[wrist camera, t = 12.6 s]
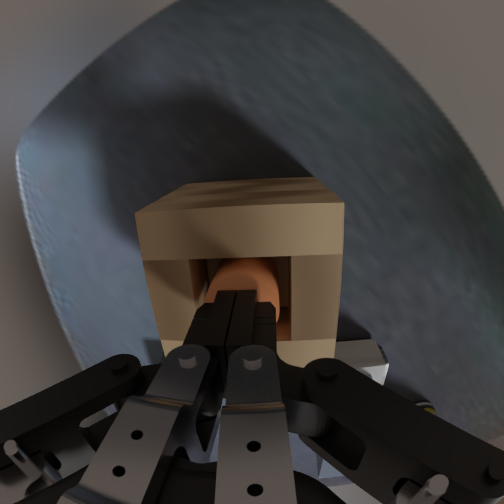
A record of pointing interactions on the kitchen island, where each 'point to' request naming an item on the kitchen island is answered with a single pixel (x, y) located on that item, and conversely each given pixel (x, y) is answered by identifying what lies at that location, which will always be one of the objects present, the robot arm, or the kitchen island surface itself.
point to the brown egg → (247, 279)
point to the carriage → (365, 361)
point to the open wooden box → (248, 255)
